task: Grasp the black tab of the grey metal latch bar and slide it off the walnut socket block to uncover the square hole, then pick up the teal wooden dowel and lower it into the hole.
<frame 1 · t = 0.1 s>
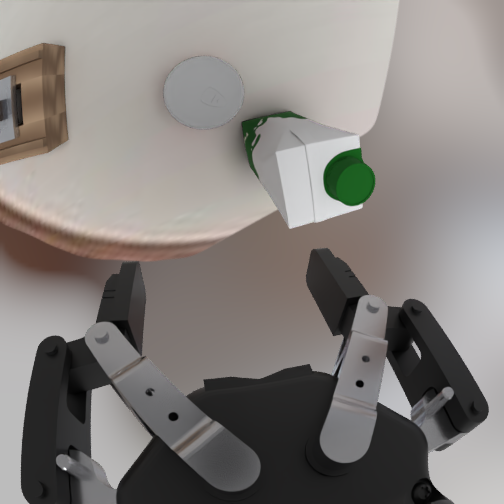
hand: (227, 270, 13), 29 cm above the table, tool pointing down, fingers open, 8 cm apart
canned food: (199, 89, 33), on the table
milk carton: (270, 138, 39), on the table
socket block: (30, 102, 27), on the table
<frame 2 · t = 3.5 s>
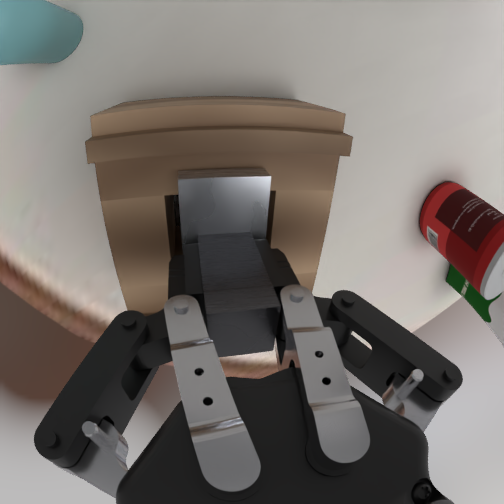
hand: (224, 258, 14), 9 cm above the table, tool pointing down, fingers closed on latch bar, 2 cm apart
canned food: (440, 210, 27), on the table
milk carton: (464, 254, 33), on the table
dowel: (57, 37, 11), on the table
socket block: (210, 190, 21), on the table
latch bar: (230, 280, 13), point 10 cm above the table, slide at 0.0 cm, touching gripper
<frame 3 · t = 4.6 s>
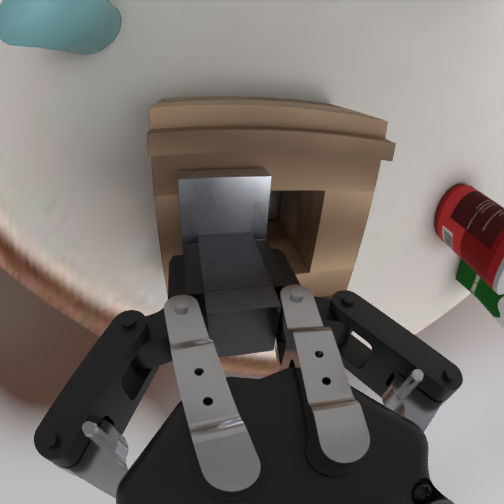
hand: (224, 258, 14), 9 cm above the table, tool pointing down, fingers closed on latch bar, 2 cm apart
canned food: (453, 210, 28), on the table
milk carton: (473, 253, 34), on the table
dowel: (93, 27, 12), on the table
socket block: (247, 189, 21), on the table
latch bar: (230, 280, 13), point 10 cm above the table, slide at 2.8 cm, touching gripper
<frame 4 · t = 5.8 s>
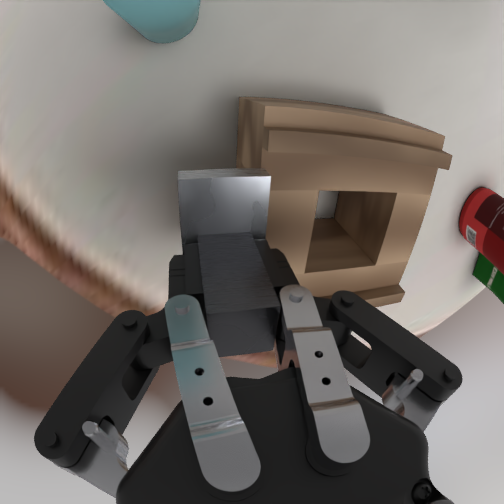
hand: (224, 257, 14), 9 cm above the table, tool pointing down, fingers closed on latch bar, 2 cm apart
canned food: (474, 211, 29), on the table
milk carton: (488, 251, 35), on the table
dowel: (167, 16, 13), on the table
socket block: (310, 188, 23), on the table
latch bar: (230, 280, 13), point 10 cm above the table, slide at 7.9 cm, touching gripper
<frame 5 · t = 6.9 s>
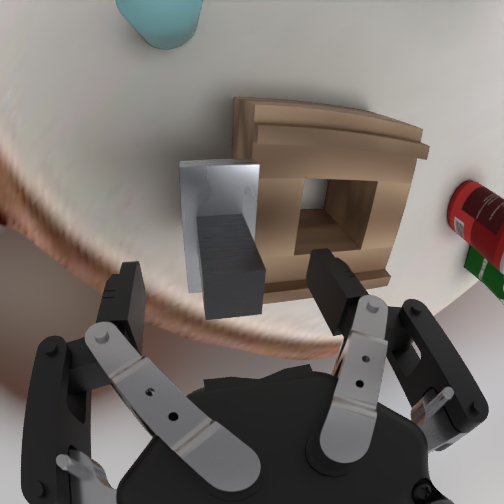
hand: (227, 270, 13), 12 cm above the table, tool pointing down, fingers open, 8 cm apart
canned food: (462, 204, 31), on the table
milk carton: (479, 244, 37), on the table
dowel: (169, 25, 15), on the table
socket block: (300, 181, 24), on the table
latch bar: (224, 254, 14), point 10 cm above the table, slide at 7.9 cm
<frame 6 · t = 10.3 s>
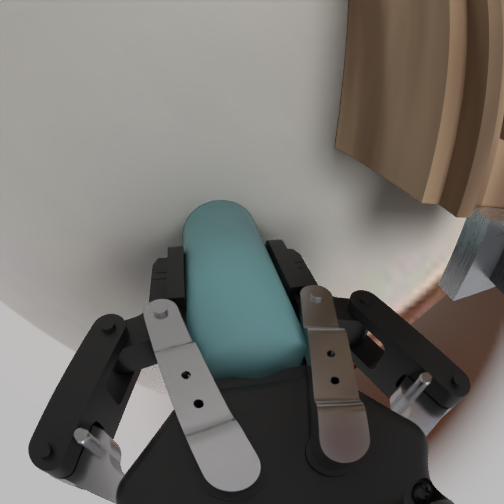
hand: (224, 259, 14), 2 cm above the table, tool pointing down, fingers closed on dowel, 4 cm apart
dowel: (219, 233, 16), on the table, touching gripper
socket block: (438, 74, 12), on the table
when the fingers open (8 cm above the table, at t = 15.0 s): dowel drops 6 cm, resting in socket block.
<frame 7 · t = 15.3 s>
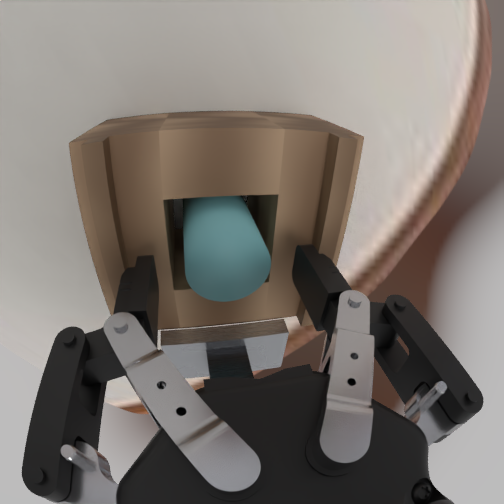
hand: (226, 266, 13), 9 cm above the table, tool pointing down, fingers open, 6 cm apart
dowel: (210, 193, 21), resting in socket block
socket block: (210, 193, 20), on the table
latch bar: (230, 382, 17), point 10 cm above the table, slide at 7.9 cm
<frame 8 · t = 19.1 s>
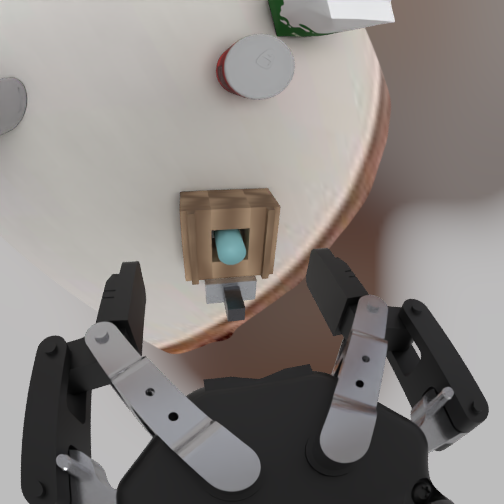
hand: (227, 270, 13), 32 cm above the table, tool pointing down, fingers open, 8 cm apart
canned food: (242, 69, 35), on the table
milk carton: (293, 14, 31), on the table
dowel: (224, 223, 48), resting in socket block
socket block: (224, 223, 48), on the table
latch bar: (233, 300, 44), point 10 cm above the table, slide at 7.9 cm
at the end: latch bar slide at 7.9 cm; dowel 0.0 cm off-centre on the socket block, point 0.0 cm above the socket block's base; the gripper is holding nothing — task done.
